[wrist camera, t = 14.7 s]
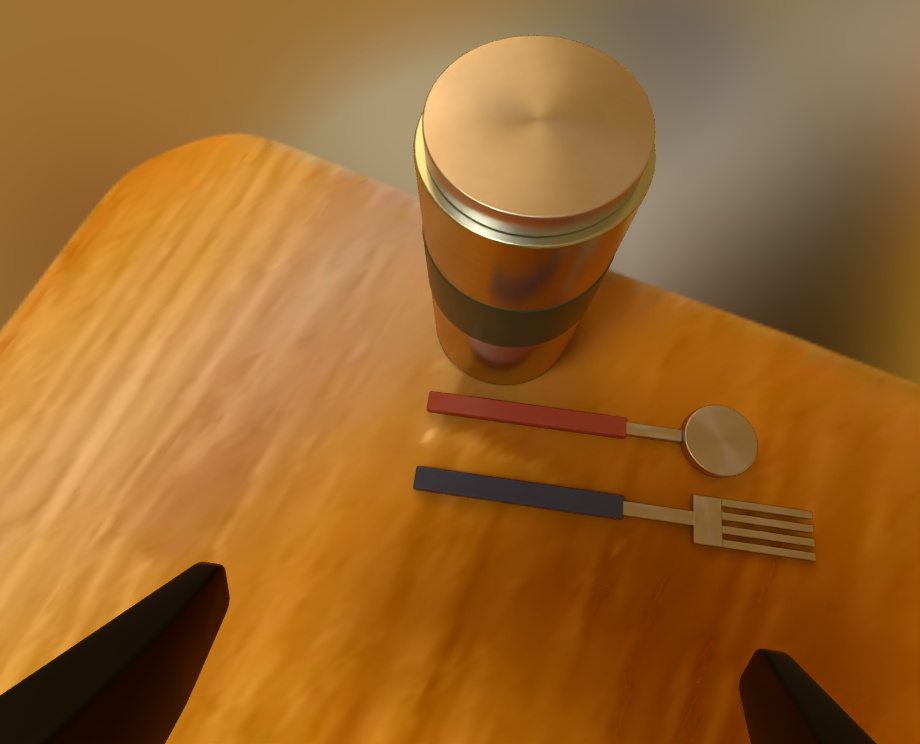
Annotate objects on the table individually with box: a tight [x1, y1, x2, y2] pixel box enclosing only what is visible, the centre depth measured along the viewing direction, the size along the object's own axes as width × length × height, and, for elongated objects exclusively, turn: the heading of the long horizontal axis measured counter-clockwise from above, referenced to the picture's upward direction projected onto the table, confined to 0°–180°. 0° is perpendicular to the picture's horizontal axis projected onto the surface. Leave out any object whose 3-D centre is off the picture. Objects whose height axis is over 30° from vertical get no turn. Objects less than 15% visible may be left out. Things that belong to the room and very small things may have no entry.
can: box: [414, 35, 656, 385], centre depth 19 cm, size 7×7×12 cm
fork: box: [413, 466, 816, 561], centre depth 21 cm, size 17×2×1 cm, turn 82°
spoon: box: [427, 391, 758, 478], centre depth 23 cm, size 15×3×1 cm, turn 82°
